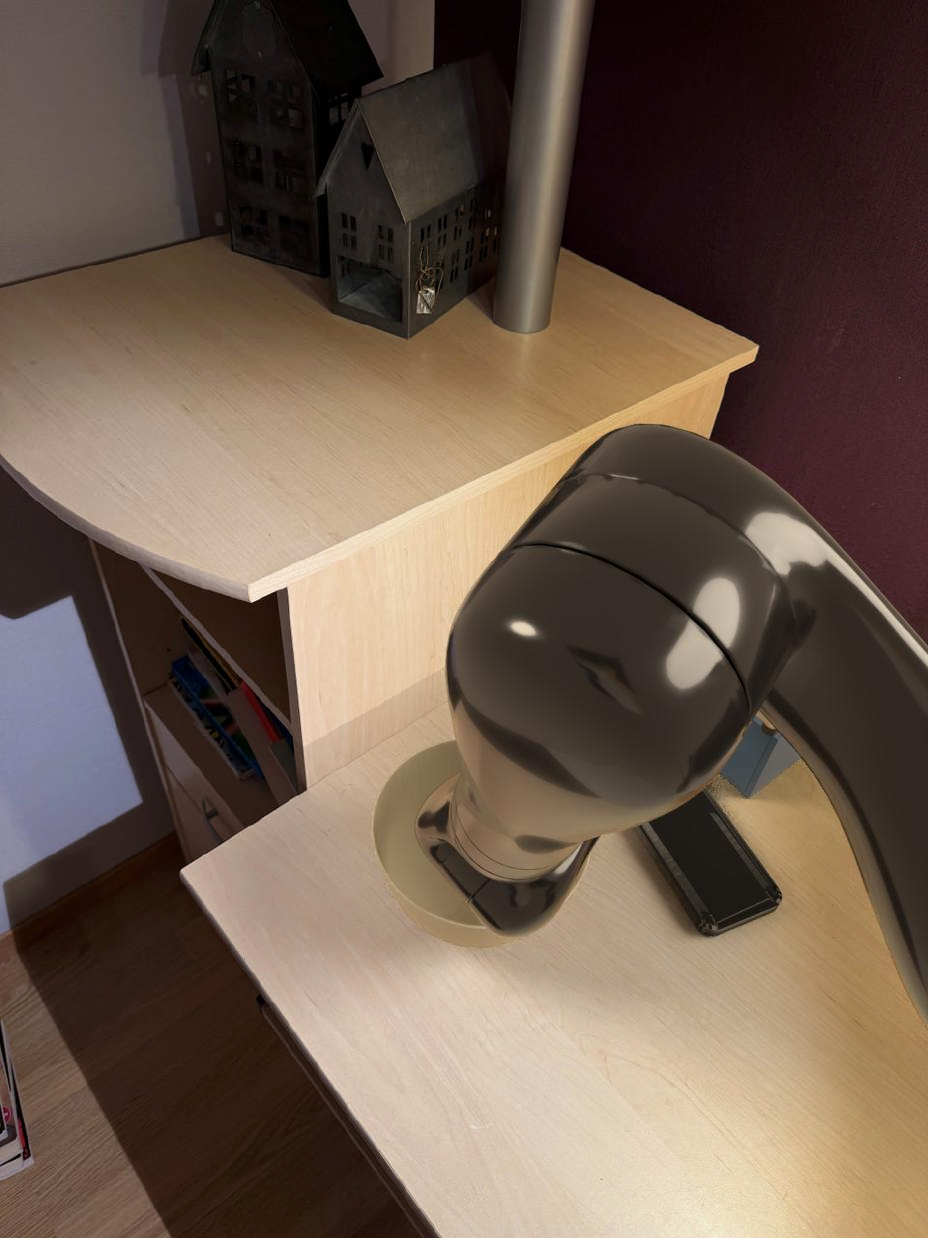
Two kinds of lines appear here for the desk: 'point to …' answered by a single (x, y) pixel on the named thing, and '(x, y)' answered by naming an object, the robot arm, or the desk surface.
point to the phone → (710, 866)
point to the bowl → (408, 865)
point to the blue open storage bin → (758, 760)
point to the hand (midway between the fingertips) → (771, 612)
